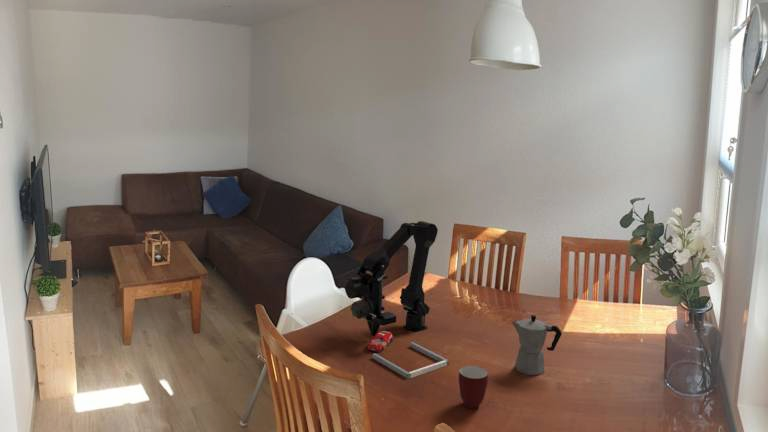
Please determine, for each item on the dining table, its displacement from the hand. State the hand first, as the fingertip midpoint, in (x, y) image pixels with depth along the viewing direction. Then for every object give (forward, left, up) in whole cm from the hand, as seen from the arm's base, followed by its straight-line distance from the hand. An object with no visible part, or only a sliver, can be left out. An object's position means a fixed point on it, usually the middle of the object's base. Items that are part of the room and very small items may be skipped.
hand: (373, 335), depth 220 cm
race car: (0, +4, -2) cm, 5 cm away
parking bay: (0, +20, -2) cm, 20 cm away
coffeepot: (-28, +47, -2) cm, 55 cm away
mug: (+3, +51, -2) cm, 51 cm away
